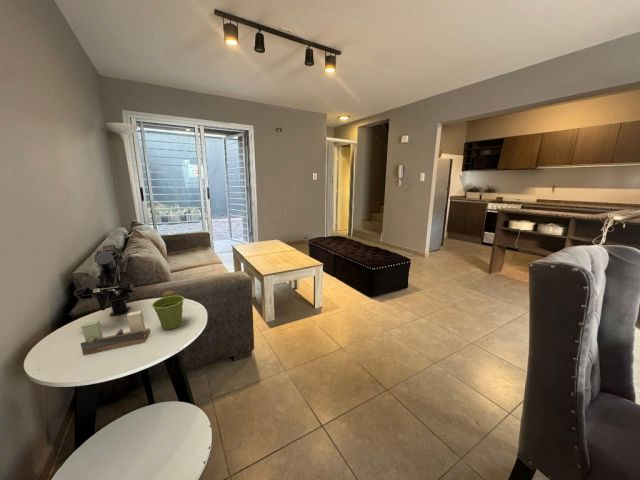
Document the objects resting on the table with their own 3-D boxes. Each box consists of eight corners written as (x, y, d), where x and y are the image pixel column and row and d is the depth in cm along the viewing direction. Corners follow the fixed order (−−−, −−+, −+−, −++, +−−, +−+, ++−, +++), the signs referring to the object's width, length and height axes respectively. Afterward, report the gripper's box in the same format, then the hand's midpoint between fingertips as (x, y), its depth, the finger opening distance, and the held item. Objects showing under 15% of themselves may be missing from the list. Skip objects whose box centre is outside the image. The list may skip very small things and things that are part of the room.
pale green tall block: (90, 343, 95) (84, 323, 93) (104, 340, 96) (99, 320, 94) (86, 347, 93) (81, 326, 91) (101, 344, 94) (96, 323, 92)
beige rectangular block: (133, 332, 101) (128, 312, 99) (145, 329, 103) (141, 310, 101) (130, 335, 99) (126, 316, 97) (144, 333, 100) (139, 313, 98)
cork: (164, 317, 115) (160, 295, 113) (165, 312, 121) (161, 290, 118) (179, 314, 118) (175, 292, 116) (179, 308, 123) (176, 287, 121)
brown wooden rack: (93, 342, 99) (90, 329, 97) (150, 331, 105) (147, 319, 104) (82, 355, 91) (78, 342, 90) (144, 342, 97) (141, 330, 96)
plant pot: (189, 327, 107) (185, 302, 105) (156, 336, 101) (151, 311, 99) (186, 315, 117) (182, 292, 115) (156, 323, 111) (151, 299, 108)
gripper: (139, 279, 119) (137, 311, 112) (90, 286, 113) (84, 320, 106) (130, 269, 110) (127, 303, 103) (77, 275, 104) (69, 312, 97)
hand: (102, 310), depth 102 cm, fingers closed
